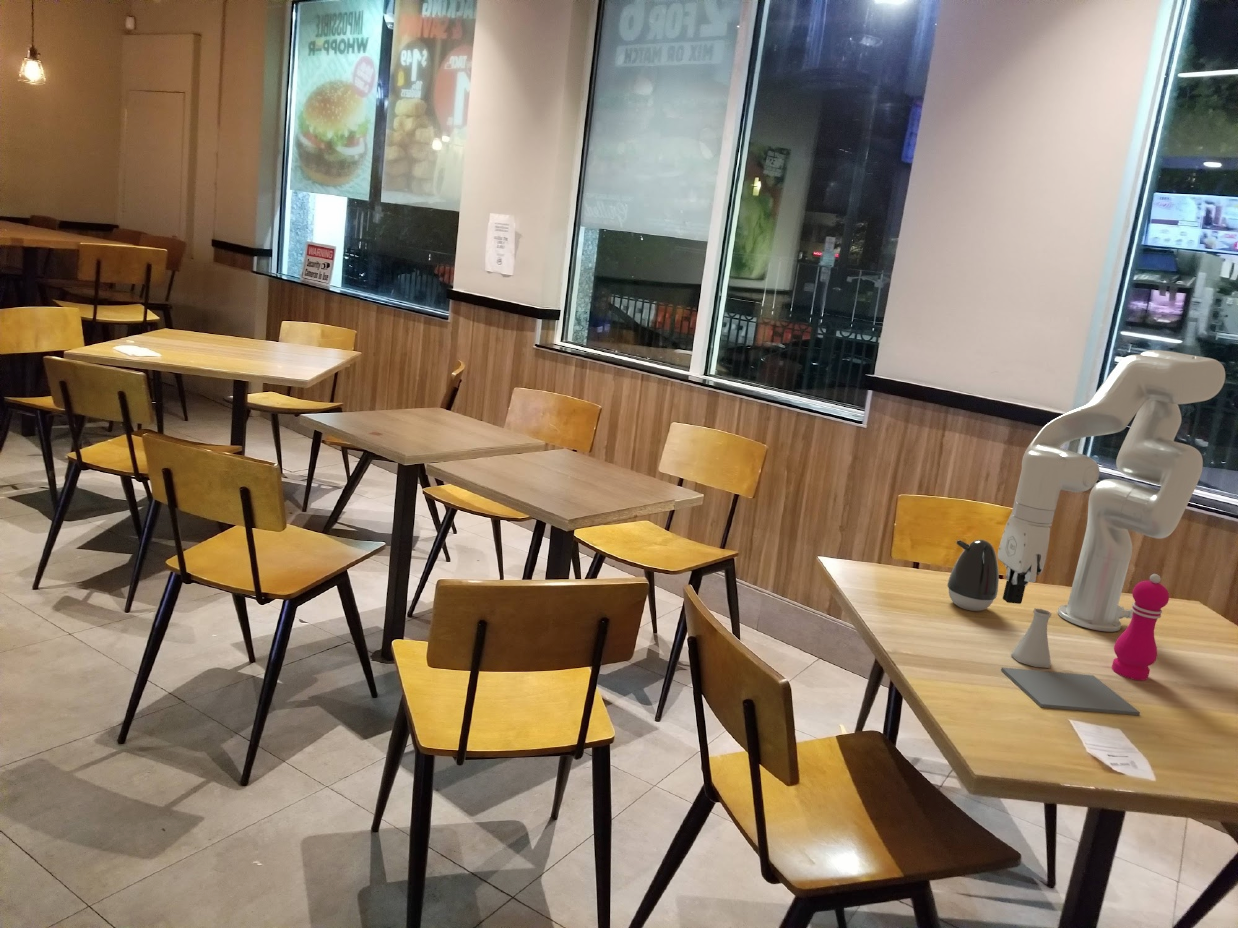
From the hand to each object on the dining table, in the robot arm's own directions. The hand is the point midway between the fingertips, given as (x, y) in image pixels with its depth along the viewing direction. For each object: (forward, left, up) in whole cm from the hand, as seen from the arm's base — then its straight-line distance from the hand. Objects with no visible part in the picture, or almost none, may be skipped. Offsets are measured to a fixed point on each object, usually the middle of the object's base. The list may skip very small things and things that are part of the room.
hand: (1011, 601), depth 190 cm
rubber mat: (0, +24, -8) cm, 25 cm away
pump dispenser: (0, -16, -8) cm, 18 cm away
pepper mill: (-19, +13, -8) cm, 24 cm away
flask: (0, +11, -8) cm, 13 cm away
